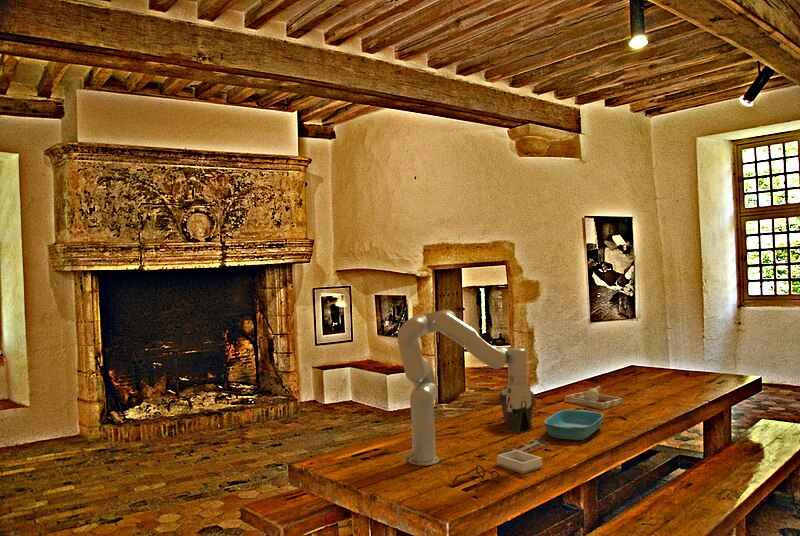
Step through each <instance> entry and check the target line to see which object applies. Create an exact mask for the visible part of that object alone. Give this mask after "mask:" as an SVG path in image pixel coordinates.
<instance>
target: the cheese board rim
mask: <svg viewBox="0 0 800 536" xmlns="http://www.w3.org/2000/svg"><path fill="white" fill-rule="evenodd" d="M587 391H588V390H587ZM587 391H582V392H577V393H573V394H572V393H571V394H569V395H564V402H565V403H570V404H575V405H578V406H579V405H580V406H584V407H589V408H593V409H598V410H605V409H608V408H613V407H616V406H621V405H624V398H621V397H617V396H611V395H606V394H601V393H599V394H598V398H599V400H598V401H603V402H598V401H597V402H594V401H589V400H584V399H579V398H580V397H582V396H583V395H584V394H585V393H586V392H587Z"/></svg>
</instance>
